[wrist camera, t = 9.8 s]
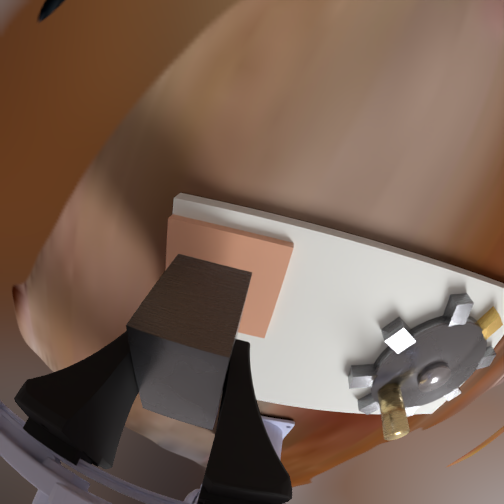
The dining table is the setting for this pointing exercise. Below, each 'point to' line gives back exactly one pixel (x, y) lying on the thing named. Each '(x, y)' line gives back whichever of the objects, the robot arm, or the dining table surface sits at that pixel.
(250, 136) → the dining table surface
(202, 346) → the grey rectangular block
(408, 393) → the sprocket
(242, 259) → the board
